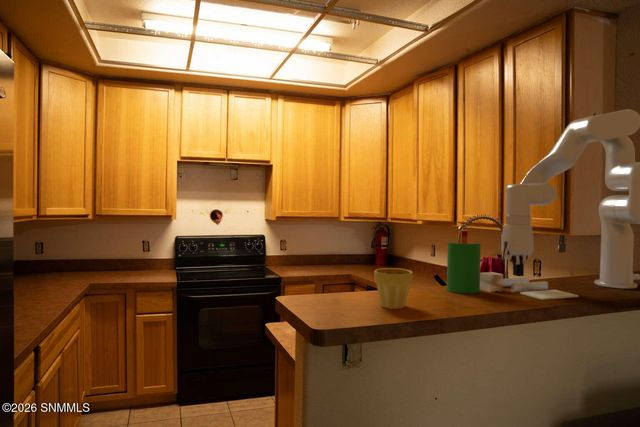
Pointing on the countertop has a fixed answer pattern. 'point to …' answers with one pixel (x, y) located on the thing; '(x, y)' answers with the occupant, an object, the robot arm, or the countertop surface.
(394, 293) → the plant pot
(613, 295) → the countertop surface
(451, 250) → the green cylinder
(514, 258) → the robot arm
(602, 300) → the countertop surface
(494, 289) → the plug block
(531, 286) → the housing channel
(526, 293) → the pad
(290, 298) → the countertop surface
